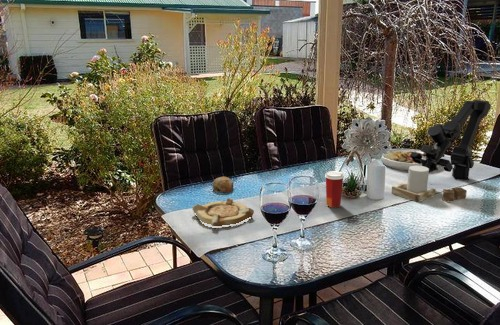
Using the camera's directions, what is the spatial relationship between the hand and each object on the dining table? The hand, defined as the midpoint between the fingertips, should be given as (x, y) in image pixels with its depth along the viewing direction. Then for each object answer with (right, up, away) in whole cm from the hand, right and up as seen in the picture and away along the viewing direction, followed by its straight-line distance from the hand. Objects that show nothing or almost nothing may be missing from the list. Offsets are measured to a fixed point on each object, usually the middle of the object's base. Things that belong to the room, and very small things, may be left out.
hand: (421, 176), depth 189 cm
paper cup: (-41, -12, -11) cm, 44 cm away
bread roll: (-89, -7, +11) cm, 90 cm away
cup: (-3, -8, -1) cm, 9 cm away
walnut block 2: (+14, -9, -6) cm, 18 cm away
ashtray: (-87, -16, -20) cm, 91 cm away
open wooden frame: (-4, -8, -1) cm, 9 cm away
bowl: (+10, +5, +44) cm, 45 cm away
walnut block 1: (+8, -10, -8) cm, 15 cm away
